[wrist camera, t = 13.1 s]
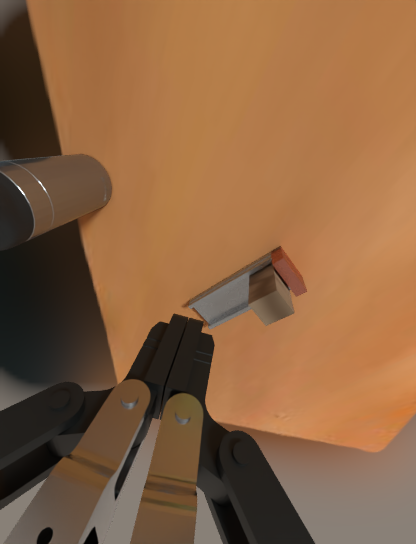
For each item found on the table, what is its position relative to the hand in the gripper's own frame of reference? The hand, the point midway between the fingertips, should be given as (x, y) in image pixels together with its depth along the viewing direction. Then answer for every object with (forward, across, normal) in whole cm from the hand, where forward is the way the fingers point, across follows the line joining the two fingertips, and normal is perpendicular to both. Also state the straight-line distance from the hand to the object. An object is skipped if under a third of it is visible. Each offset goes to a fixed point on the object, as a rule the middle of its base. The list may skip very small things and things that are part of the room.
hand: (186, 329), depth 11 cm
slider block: (+30, -10, +13) cm, 34 cm away
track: (+32, -7, +18) cm, 37 cm away
